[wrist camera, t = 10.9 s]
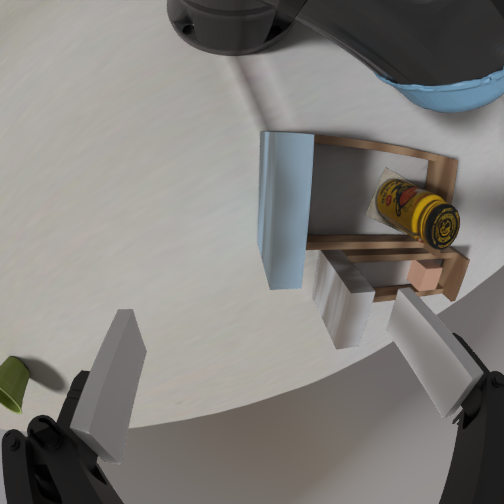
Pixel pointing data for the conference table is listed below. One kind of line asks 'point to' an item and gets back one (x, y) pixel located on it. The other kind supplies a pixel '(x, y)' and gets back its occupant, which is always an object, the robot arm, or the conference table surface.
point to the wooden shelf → (298, 203)
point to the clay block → (424, 274)
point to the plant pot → (13, 384)
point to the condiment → (414, 211)
